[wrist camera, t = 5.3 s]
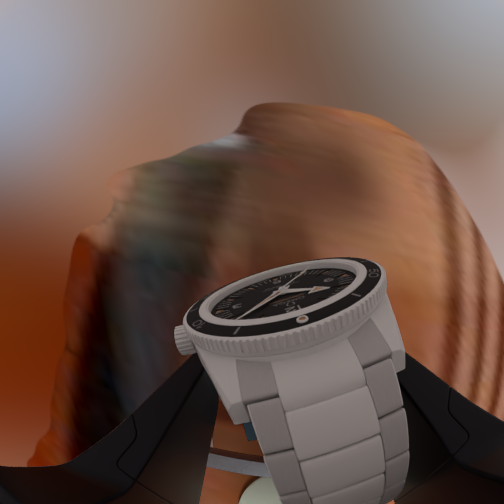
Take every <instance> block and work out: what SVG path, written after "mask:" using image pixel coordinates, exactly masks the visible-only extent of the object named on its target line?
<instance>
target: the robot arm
mask: <svg viewBox="0 0 504 504" xmlns="http://www.w3.org/2000/svg"><path fill="white" fill-rule="evenodd" d="M396 375H397V378H398V382H399V386H400V390H401V395H402V400H403V406H402V407H401V408H404V409H405V412H406V417H407V425H408V436H409V449H408V451H409V455H410V456H409V466H408V472H407V476H406V479H405V484H404V487H403V489H402V491H401V492H400V493H399V495H398V496H396V498H395V499H394V502H395V504H504V421H502V420H500V419H499V418H497V417H495V416H493V415H492V414H490V413H488V412H487V411H485V410H483V409H482V408H480V407H479V406H477V405H476V404H474V403H472V402H471V401H469V400H468V399H467V398H465V397H464V396H463V395H461V394H460V393H458V392H457V391H456V390H455V389H453V388H452V387H450V386H449V385H448V384H447V383H445V382H444V381H443V380H441V379H440V378H439V377H437V376H436V375H435V374H434V373H432V372H431V371H430V370H428V369H427V368H426V367H424V366H423V365H422V364H420V363H419V362H418V361H416V360H415V359H414V358H413V357H411V356H410V355H409V354H407V353H406V352H405V369H403V370H401V371H399V372H397V373H396ZM218 396H219V394H218V392H217V390H216V388H215V386H214V384H213V382H212V380H211V379H210V377H209V375H208V373H207V371H206V370H205V368H204V366H203V365H202V363H201V361H200V358H199V356H198V353H193V354H192V355H191V356H190V357H189V358H188V359H187V360H186V361H185V362H184V363H183V364H182V365H181V366H180V367H179V368H178V369H177V370H176V371H175V372H174V373H173V374H172V375H171V376H170V377H169V378H168V379H167V380H166V381H165V382H164V383H163V384H162V385H161V386H160V387H159V388H158V389H157V390H156V391H155V392H154V393H153V394H152V395H151V396H150V397H149V398H148V399H147V400H146V401H144V402H143V403H142V404H141V405H140V406H139V407H138V408H137V409H136V410H135V411H134V412H133V414H131V415H130V416H129V417H128V418H126V419H125V420H124V421H123V422H122V423H121V424H120V425H119V426H118V427H116V428H115V429H114V430H113V431H112V432H110V433H109V434H108V435H107V436H105V437H104V438H103V439H101V440H100V441H99V442H97V443H96V444H95V445H93V446H92V447H90V448H89V449H88V450H86V451H85V452H83V453H82V454H80V455H79V456H77V457H76V458H75V459H73V460H71V461H69V462H67V463H64V464H61V465H56V466H42V467H7V466H0V504H199V501H200V496H201V491H202V486H203V481H204V475H205V470H206V465H207V460H208V455H209V450H210V445H211V440H212V435H213V430H214V425H215V420H216V415H217V409H218Z"/></svg>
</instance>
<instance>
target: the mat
mask: <svg viewBox="0 0 504 504" xmlns="http://www.w3.org/2000/svg"><path fill="white" fill-rule="evenodd" d="M239 504H282V503H281V501H280V499H279V495H278V493H277V491H276V488H275V486H274V484H273V482H272V479H271V478H268V477H260V478H258V479H256V480H255V481H254V482H252V483H251V484H250V485H249V486H248V487H247V488H246V490H245V491H244V493H243V494H242V496H241V499H240V502H239Z"/></svg>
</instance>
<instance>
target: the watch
mask: <svg viewBox="0 0 504 504" xmlns="http://www.w3.org/2000/svg"><path fill="white" fill-rule="evenodd" d="M386 289H387V279H386V272H385V270H384V268H383V267H382V266H381V265H379V264H378V263H376V262H373V261H371V260H366V259H361V258H350V257H338V258H325V259H316V260H310V261H304V262H299V263H294V264H289V265H285V266H281V267H277V268H273V269H270V270H266V271H263V272H260V273H256V274H253V275H250V276H248V277H245V278H242V279H239V280H237V281H234V282H232V283H230V284H227V285H225V286H223V287H221V288H219V289H217V290H215V291H213V292H211V293H210V294H208V295H206V296H205V297H203V298H202V299H200V300H199V301H198V302H196V303H195V304H194V305H193V306H192V307H191V308H190V309H189V310H188V311H187V313H186V314H185V316H184V318H183V325H181V326H177V327H175V330H174V336H175V342H176V345H177V348H178V350H179V352H180V353H181V354H182V355H188V354H193V353H198V356H199V358H200V361H201V363H202V365H203V366H204V368H205V370H206V371H207V373H208V375H209V377H210V379H211V380H212V382H213V384H214V386H215V388H216V390H217V392H218V394H219V396H220V399H221V401H222V402H223V404H224V406H225V408H226V410H227V412H228V414H229V416H230V418H231V420H232V421H233V423H234V424H235V425H237V424H242V423H243V426H244V429H245V432H246V436H247V439H248V441H251V440H256V439H258V442H259V445H260V447H261V450H262V453H263V454H264V456H263V458H264V462H265V464H266V467H267V469H268V472H269V474H270V477H271V479H272V482H273V484H274V486H275V488H276V491H277V493H278V495H279V499H280V501H281V503H282V504H386V503H388V502H390V501H392V500H393V499H395V498H396V496H398V495H399V493H400V492H401V491H402V489H403V487H404V484H405V479H406V476H407V472H408V466H409V456H410V455H409V451H408V449H409V436H408V425H407V417H406V412H405V409H404V408H401V407H402V406H403V400H402V395H401V390H400V386H399V382H398V378H397V375H396V373H397V372H399V371H401V370H403V369H405V349H404V345H403V342H402V338H401V334H400V331H399V328H398V324H397V321H396V318H395V315H394V313H393V310H392V307H391V304H390V301H389V298H388V296H387V292H386Z"/></svg>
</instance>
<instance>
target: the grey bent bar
mask: <svg viewBox="0 0 504 504" xmlns="http://www.w3.org/2000/svg"><path fill="white" fill-rule="evenodd" d="M206 466H207V467H211V468H215V469H220V470H225V471H230V472H235V473H240V474H246V475H253V476H260V477H268V478H271V477H270V474H269V472H268V469H267V467H266V464H265V462H264V458H263V456H256V455H249V454H243V453H237V452H232V451H227V450H222V449H217V448H213V447H210V450H209V455H208V460H207V465H206Z"/></svg>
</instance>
